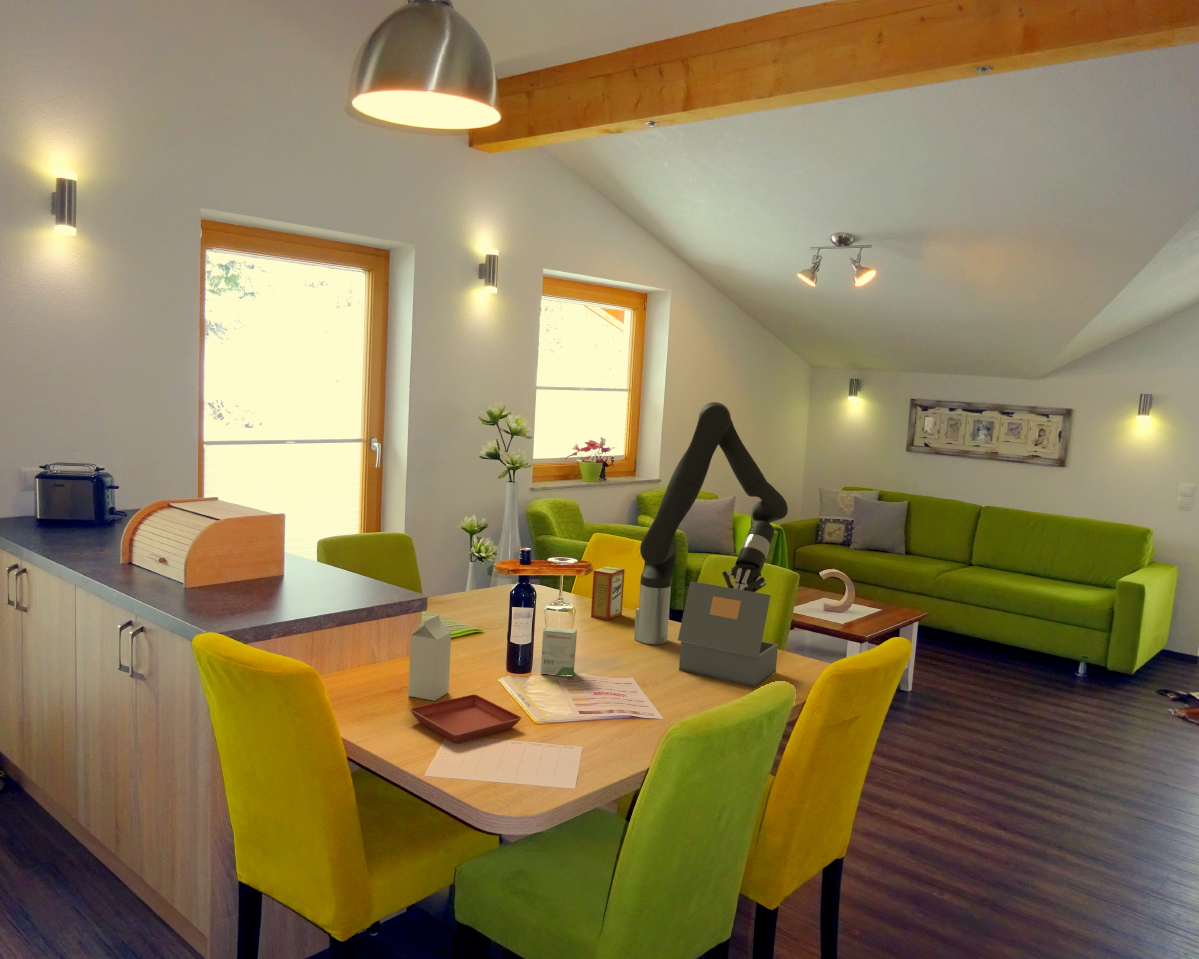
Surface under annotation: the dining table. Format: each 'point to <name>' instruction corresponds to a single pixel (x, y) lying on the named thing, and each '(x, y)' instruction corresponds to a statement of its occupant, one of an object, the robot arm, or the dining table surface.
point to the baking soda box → (607, 593)
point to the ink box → (558, 651)
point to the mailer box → (729, 663)
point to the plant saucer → (465, 718)
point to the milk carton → (429, 660)
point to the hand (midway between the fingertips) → (734, 604)
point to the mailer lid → (724, 618)
